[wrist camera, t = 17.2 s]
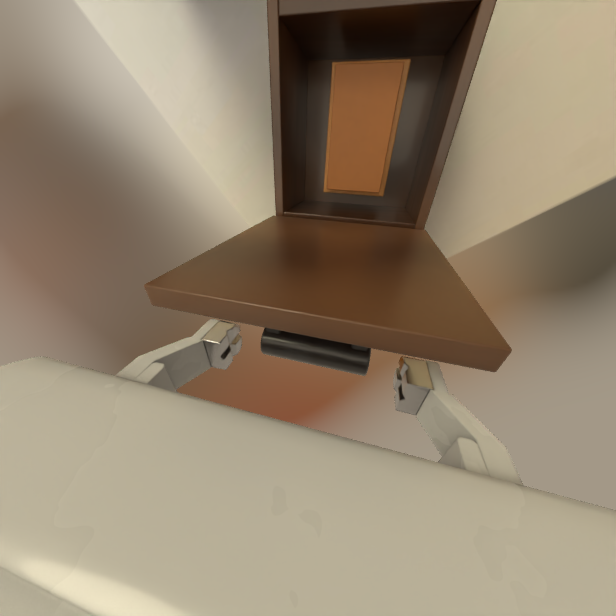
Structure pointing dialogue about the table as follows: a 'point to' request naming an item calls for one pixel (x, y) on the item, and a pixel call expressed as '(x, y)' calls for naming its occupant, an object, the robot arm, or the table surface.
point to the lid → (337, 294)
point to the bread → (363, 124)
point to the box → (415, 107)
